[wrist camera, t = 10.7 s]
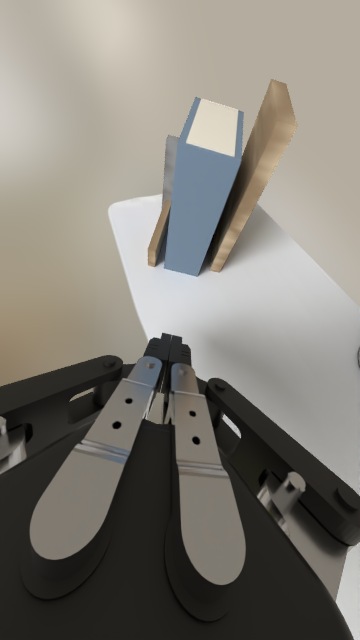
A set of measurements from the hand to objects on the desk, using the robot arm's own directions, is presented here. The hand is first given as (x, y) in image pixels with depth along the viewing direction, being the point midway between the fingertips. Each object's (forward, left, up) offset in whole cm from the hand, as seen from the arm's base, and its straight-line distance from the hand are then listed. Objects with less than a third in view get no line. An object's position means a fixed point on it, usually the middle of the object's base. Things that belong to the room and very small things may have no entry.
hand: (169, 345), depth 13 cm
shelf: (0, -19, -8) cm, 21 cm away
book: (0, -19, -8) cm, 20 cm away
